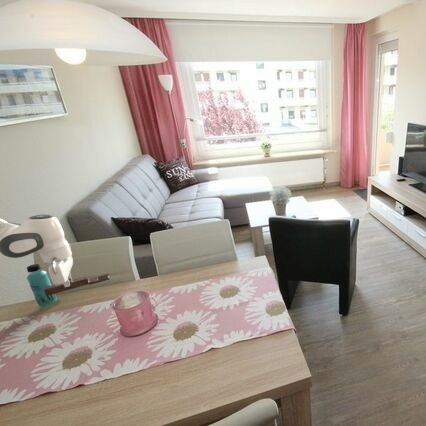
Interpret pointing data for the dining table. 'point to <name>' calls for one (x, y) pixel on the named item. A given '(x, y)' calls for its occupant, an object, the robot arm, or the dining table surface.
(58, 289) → the brown long bar
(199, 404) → the dining table surface
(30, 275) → the beverage bottle
